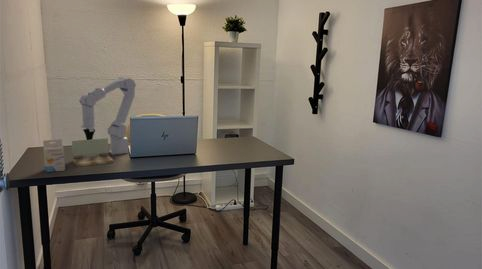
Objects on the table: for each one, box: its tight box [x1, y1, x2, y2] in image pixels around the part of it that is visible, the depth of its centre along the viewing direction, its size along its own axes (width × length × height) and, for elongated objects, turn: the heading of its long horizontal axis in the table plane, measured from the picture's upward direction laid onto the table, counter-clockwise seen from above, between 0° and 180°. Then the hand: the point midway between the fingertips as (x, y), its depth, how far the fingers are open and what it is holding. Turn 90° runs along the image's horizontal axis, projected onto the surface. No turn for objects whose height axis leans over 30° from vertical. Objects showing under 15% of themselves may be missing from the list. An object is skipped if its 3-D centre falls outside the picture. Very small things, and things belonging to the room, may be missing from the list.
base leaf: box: [72, 152, 114, 167], centre depth 191 cm, size 18×11×3 cm, turn 123°
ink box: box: [43, 138, 66, 173], centre depth 174 cm, size 8×5×15 cm, turn 123°
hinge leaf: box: [71, 137, 109, 158], centre depth 195 cm, size 18×10×2 cm
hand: (89, 142), depth 196 cm, fingers closed
